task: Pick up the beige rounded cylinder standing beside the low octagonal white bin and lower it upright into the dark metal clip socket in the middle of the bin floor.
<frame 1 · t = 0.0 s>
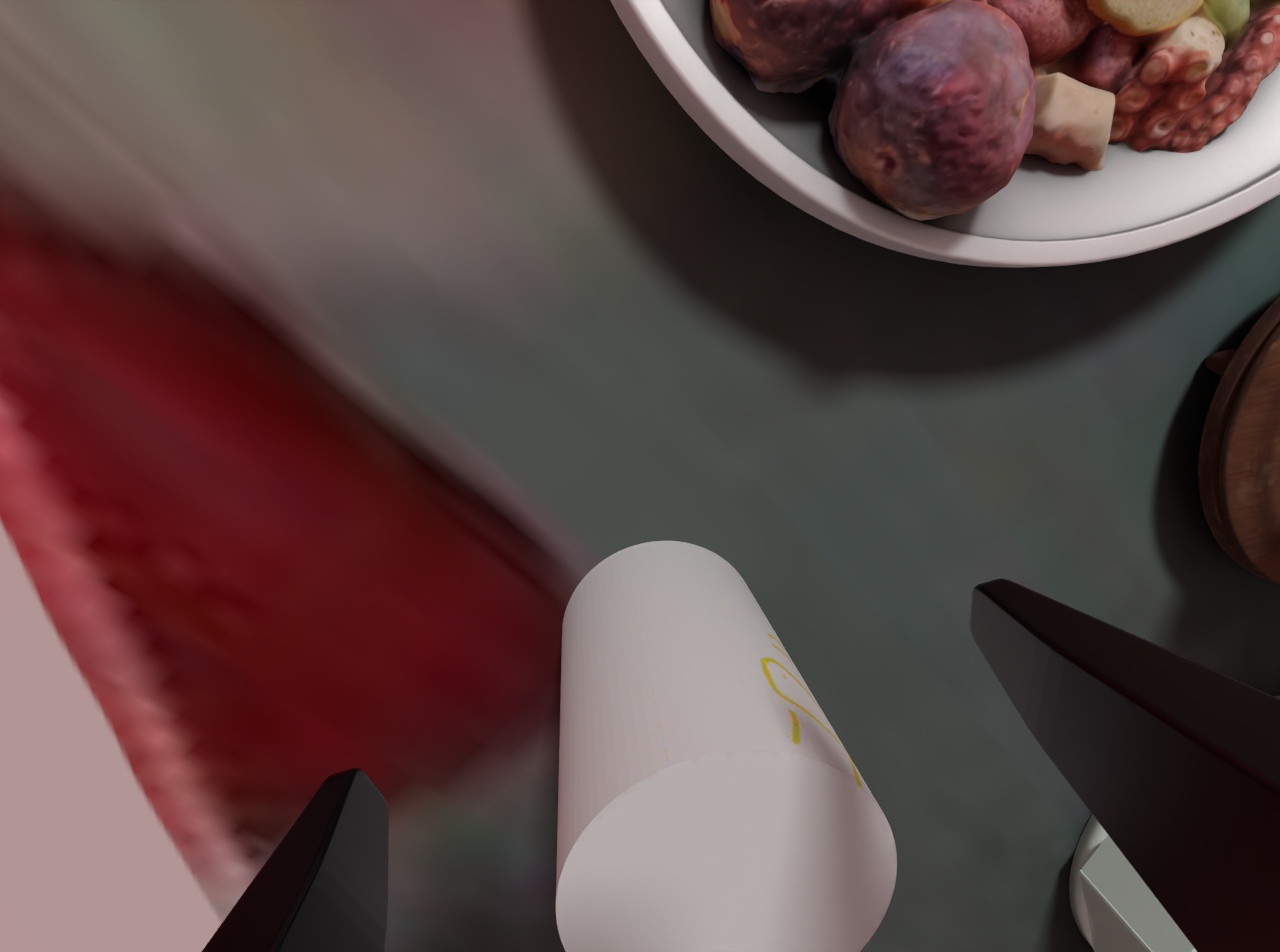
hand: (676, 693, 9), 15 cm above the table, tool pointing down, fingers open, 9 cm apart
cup: (659, 629, 26), on the table
octagonal white bin: (1232, 844, 33), on the table
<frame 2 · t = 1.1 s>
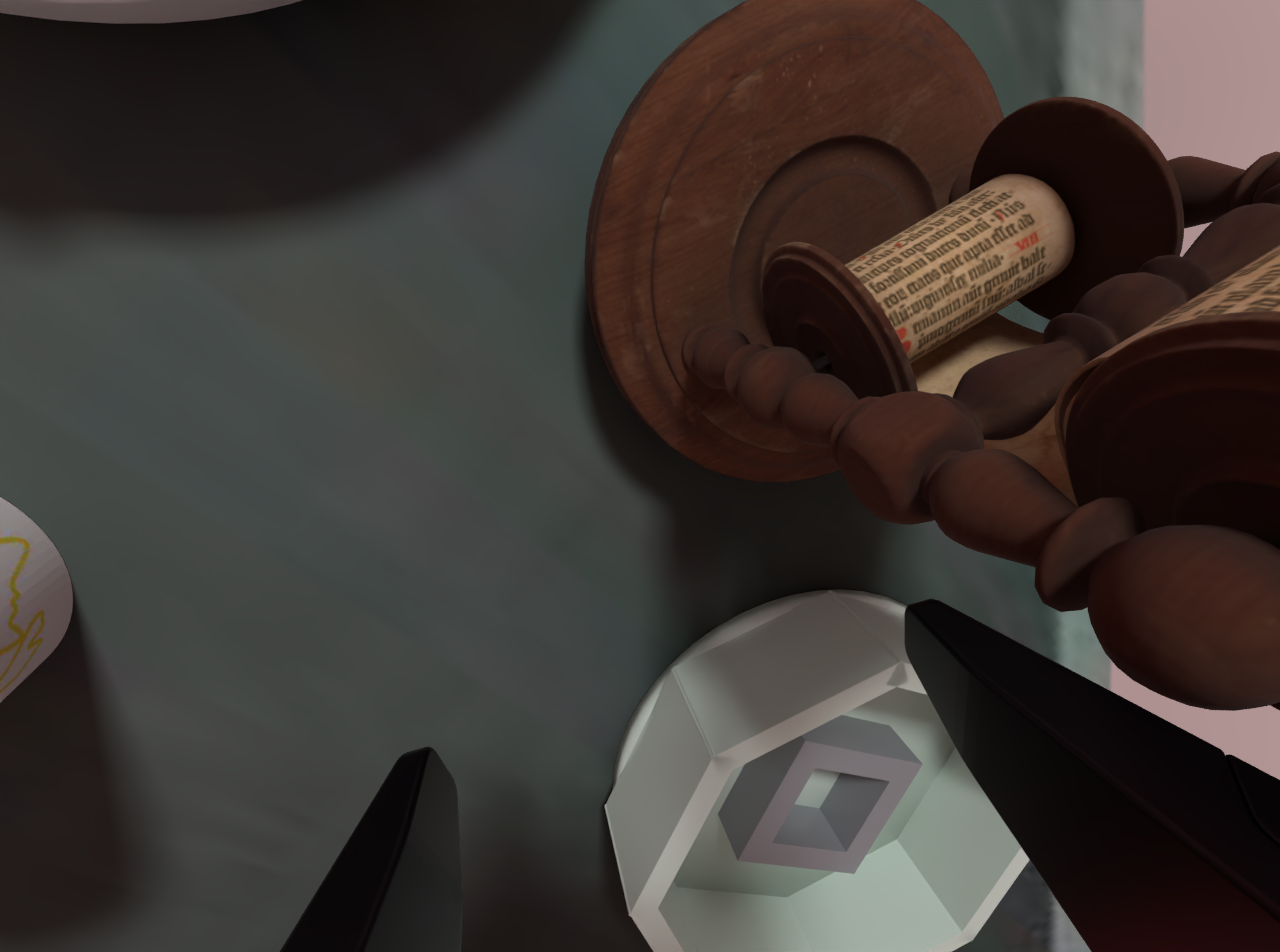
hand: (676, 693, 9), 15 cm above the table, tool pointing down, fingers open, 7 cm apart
octagonal white bin: (795, 753, 31), on the table
scroll: (778, 260, 22), on the table, touching gripper
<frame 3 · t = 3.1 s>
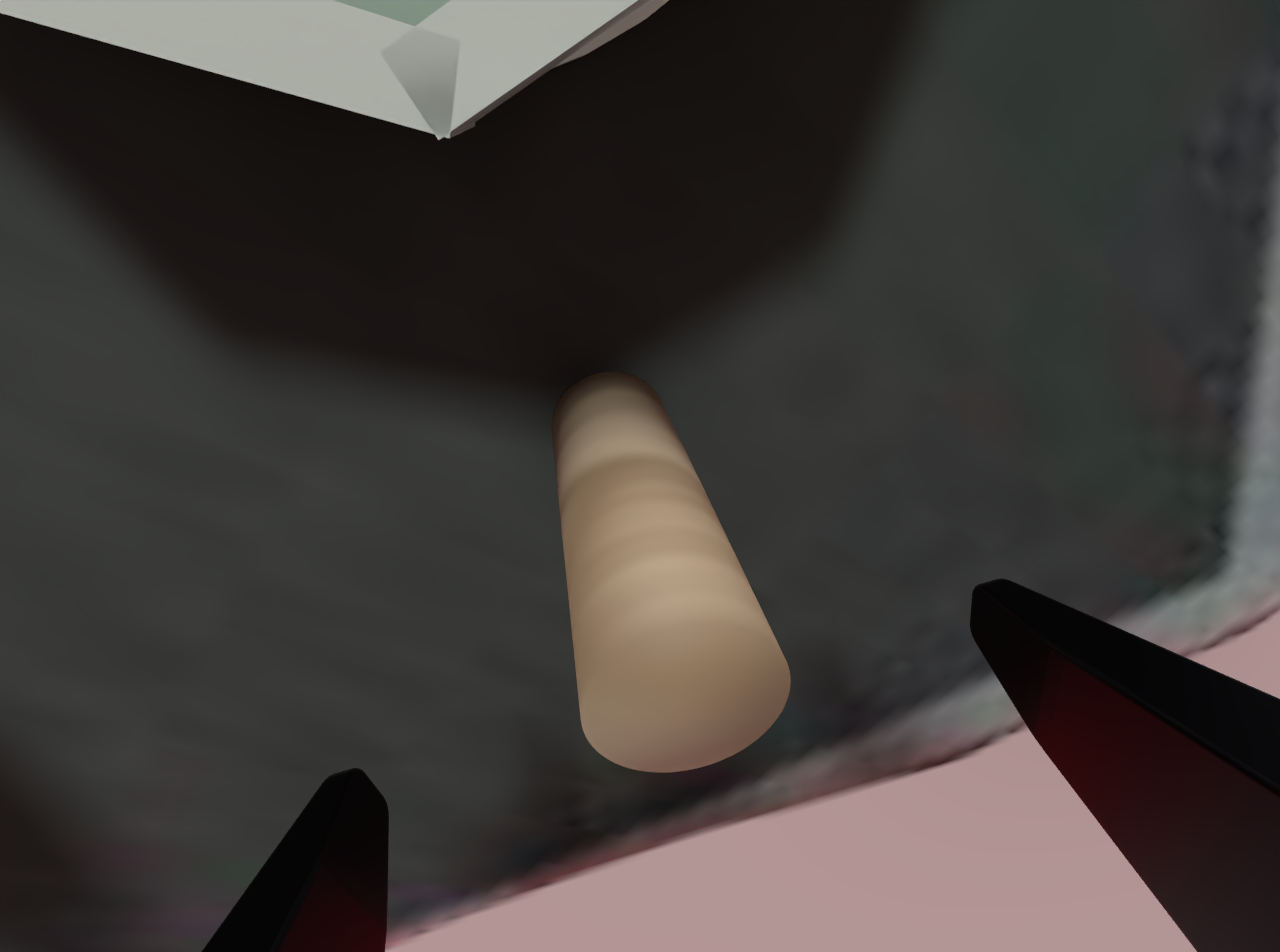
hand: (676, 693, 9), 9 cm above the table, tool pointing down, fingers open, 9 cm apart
beige rounded cylinder: (609, 425, 17), on the table
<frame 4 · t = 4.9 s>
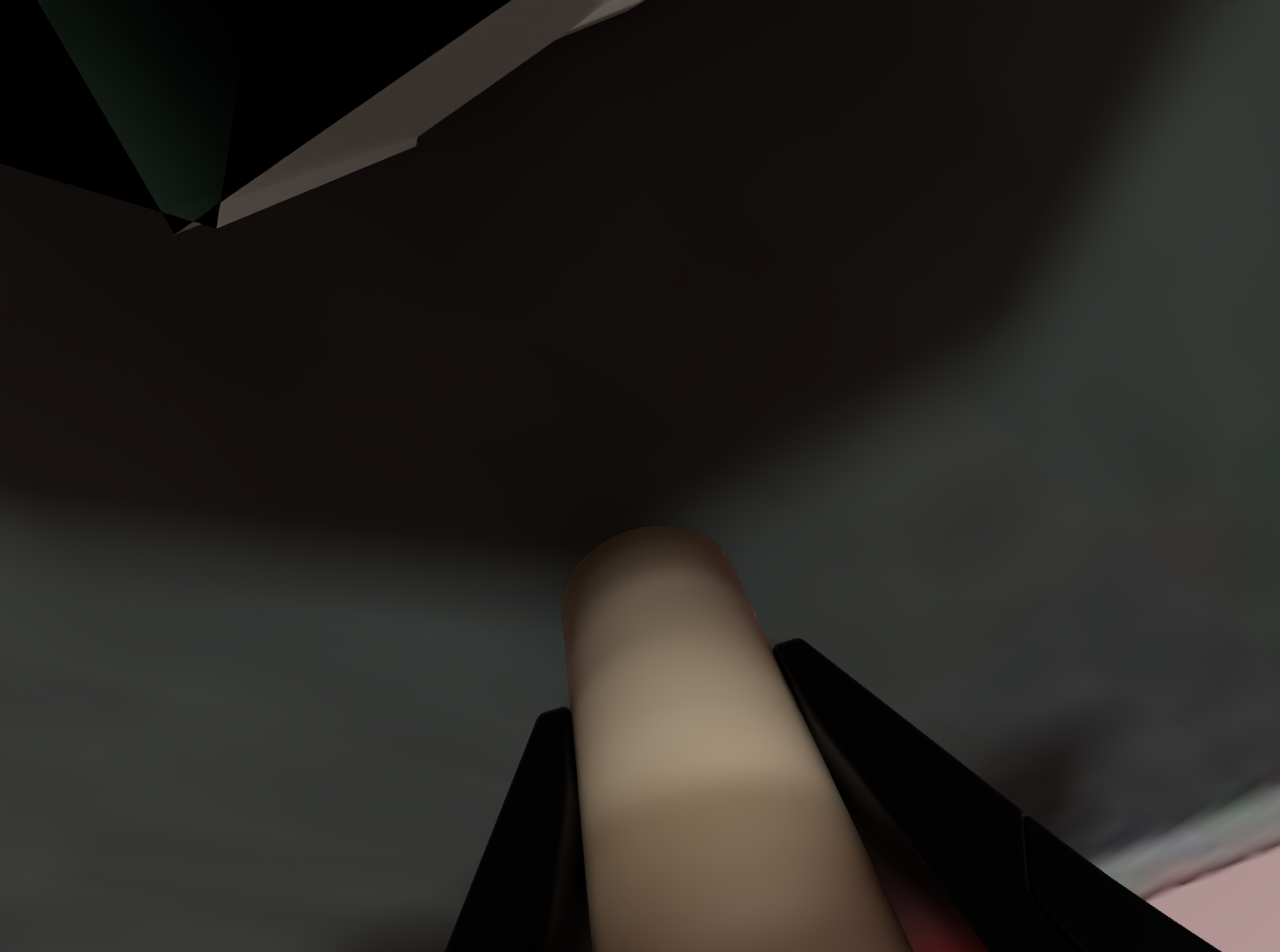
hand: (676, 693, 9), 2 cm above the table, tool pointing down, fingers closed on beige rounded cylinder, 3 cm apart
beige rounded cylinder: (650, 598, 11), on the table, touching gripper
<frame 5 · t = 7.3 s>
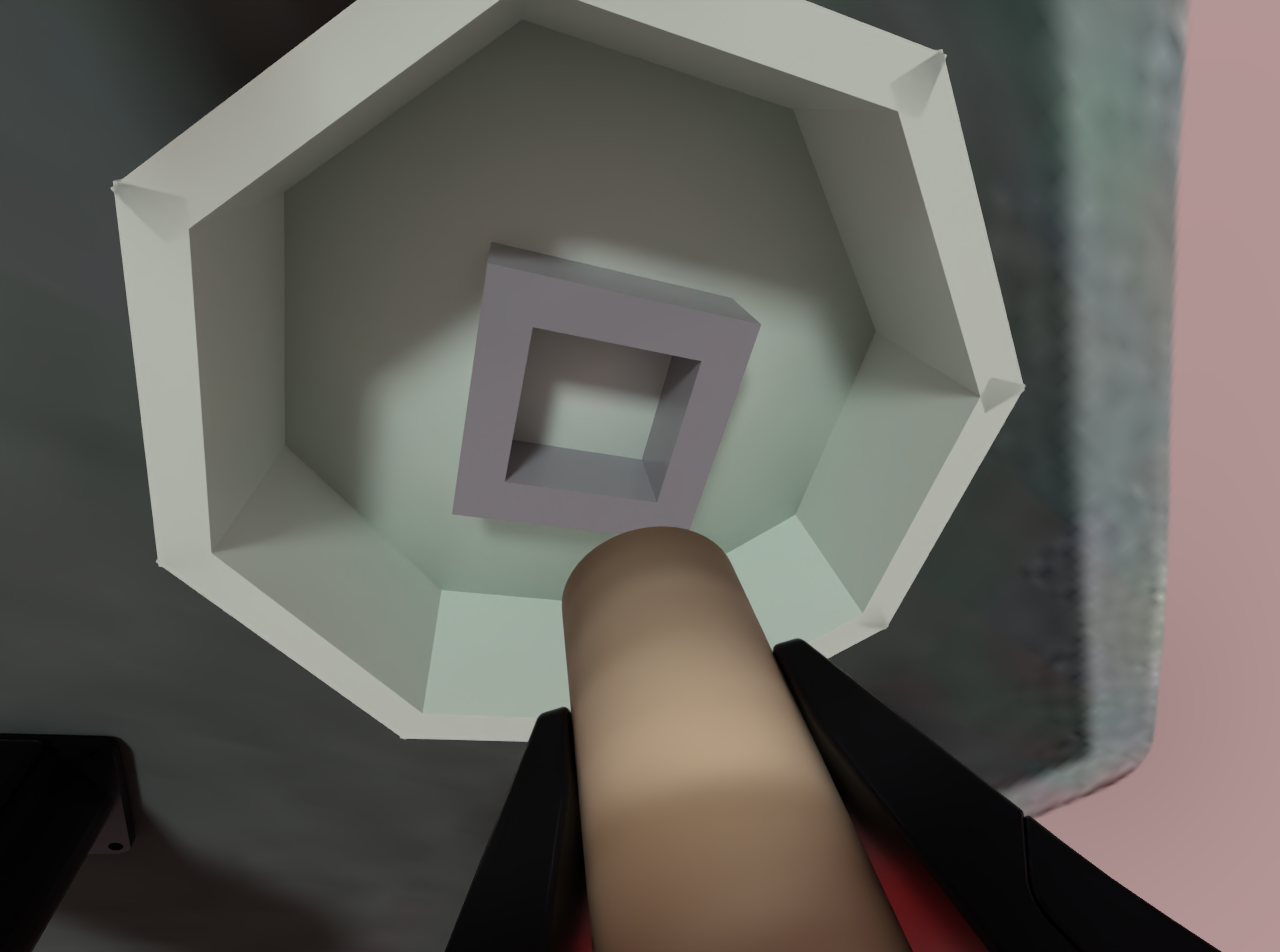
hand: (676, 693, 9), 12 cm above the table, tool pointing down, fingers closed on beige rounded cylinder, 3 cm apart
beige rounded cylinder: (650, 599, 11), point 10 cm above the table, touching gripper
octagonal white bin: (587, 373, 19), on the table
when the fingers open (5 cm above the table, at t = 9.6 s): beige rounded cylinder drops 1 cm, resting on octagonal white bin.
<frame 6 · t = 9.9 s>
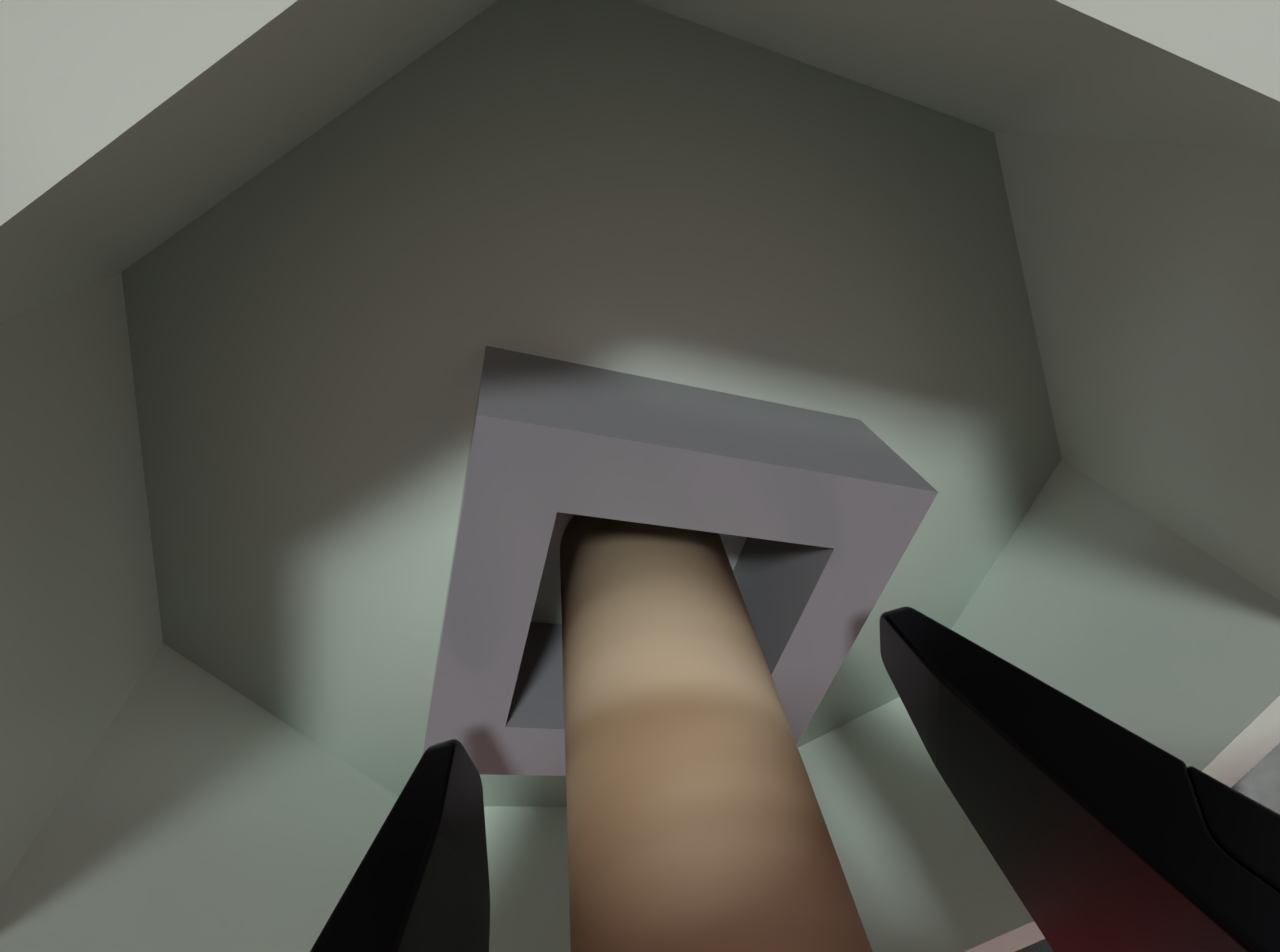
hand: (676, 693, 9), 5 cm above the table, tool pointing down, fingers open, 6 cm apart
beige rounded cylinder: (640, 549, 12), point 1 cm above the table, touching octagonal white bin
octagonal white bin: (629, 516, 13), on the table
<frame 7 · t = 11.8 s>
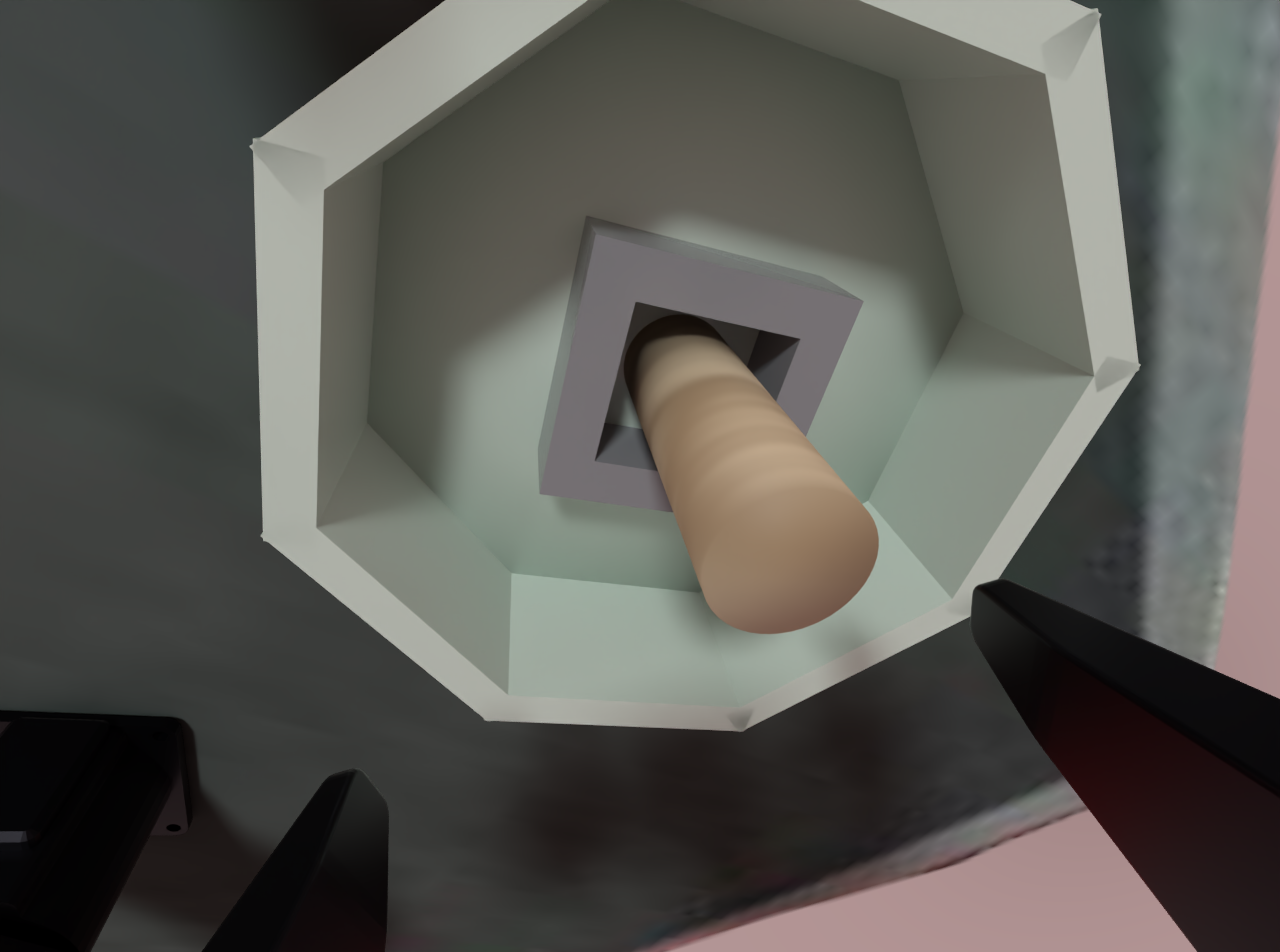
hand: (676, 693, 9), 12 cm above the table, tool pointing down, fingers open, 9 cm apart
beige rounded cylinder: (675, 366, 18), point 1 cm above the table, touching octagonal white bin
octagonal white bin: (667, 353, 19), on the table
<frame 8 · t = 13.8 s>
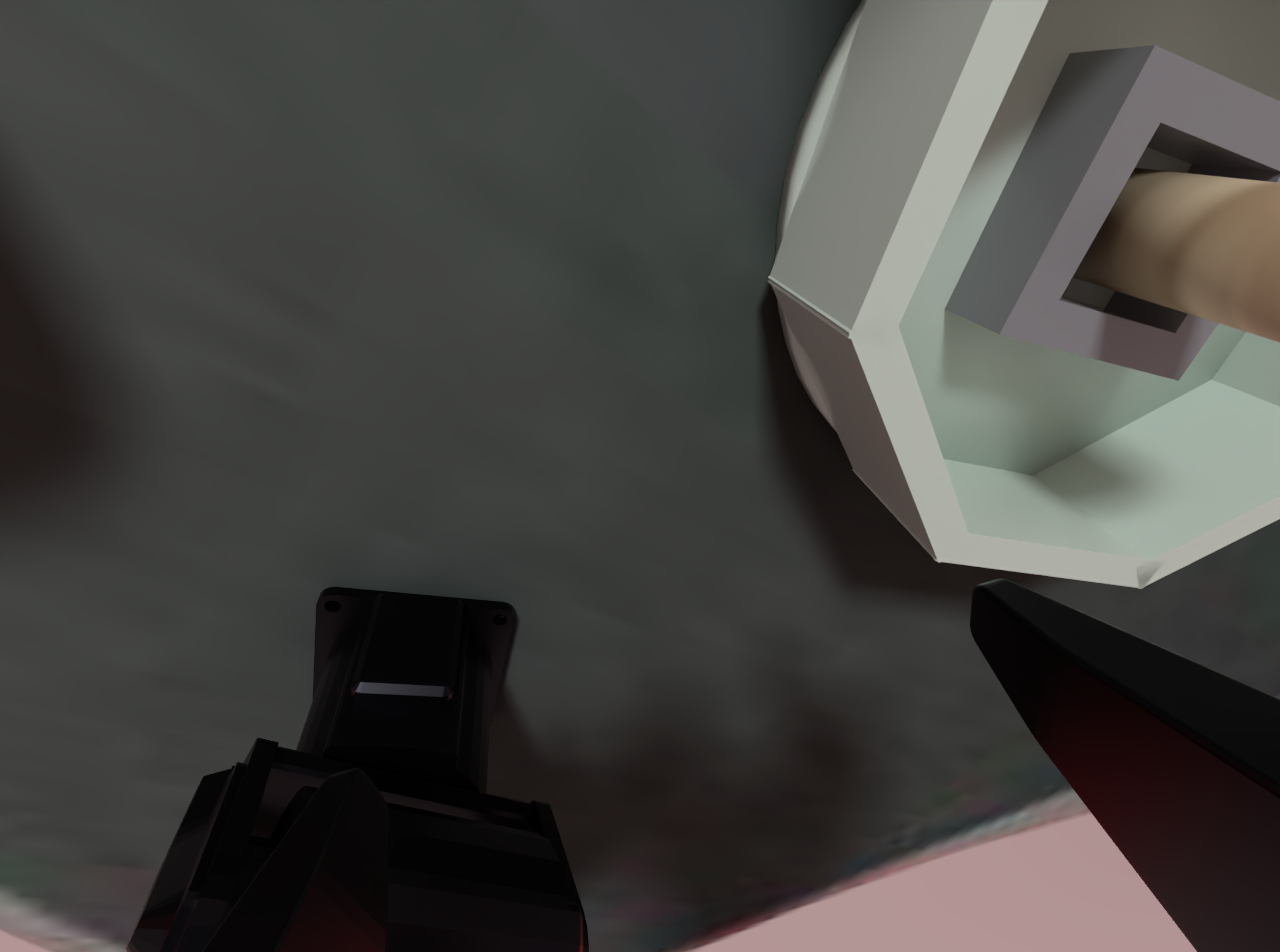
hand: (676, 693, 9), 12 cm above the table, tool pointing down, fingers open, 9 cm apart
beige rounded cylinder: (1093, 223, 18), point 1 cm above the table, touching octagonal white bin
octagonal white bin: (1067, 217, 19), on the table
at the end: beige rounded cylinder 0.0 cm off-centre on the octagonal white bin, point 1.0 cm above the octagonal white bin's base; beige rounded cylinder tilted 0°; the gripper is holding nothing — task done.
